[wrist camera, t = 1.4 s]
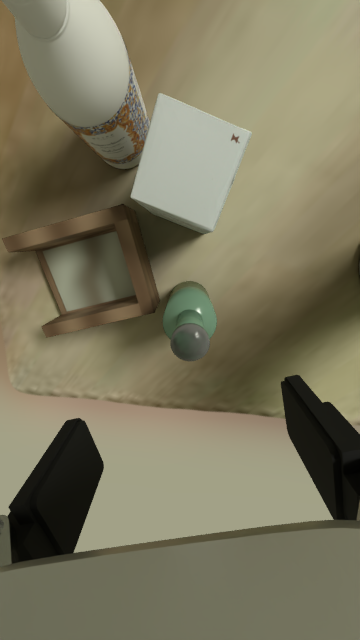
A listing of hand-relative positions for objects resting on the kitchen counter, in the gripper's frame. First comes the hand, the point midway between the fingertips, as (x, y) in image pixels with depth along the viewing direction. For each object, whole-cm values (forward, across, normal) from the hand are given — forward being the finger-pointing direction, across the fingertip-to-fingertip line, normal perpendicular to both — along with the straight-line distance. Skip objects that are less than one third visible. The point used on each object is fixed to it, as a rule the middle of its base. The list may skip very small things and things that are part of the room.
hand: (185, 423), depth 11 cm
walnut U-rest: (+24, +10, -7) cm, 27 cm away
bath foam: (+24, +2, -21) cm, 32 cm away
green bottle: (+24, 0, 0) cm, 24 cm away
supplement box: (+24, -4, -13) cm, 28 cm away
